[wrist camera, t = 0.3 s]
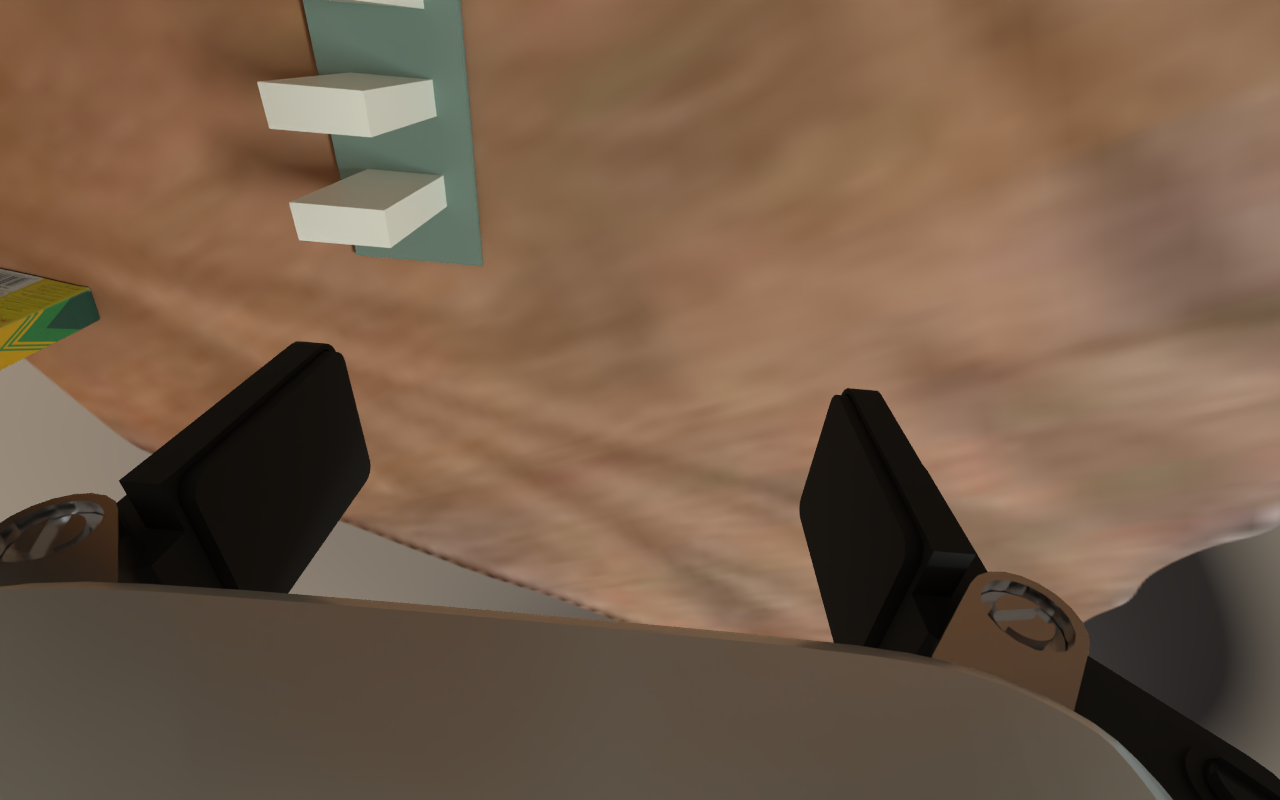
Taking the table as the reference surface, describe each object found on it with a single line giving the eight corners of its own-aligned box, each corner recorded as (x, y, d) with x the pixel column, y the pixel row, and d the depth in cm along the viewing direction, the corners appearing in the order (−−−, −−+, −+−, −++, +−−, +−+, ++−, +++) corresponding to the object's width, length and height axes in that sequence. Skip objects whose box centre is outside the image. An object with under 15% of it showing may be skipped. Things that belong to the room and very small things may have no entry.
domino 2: (367, 168, 37) (288, 202, 29) (443, 175, 37) (383, 210, 29) (373, 200, 38) (299, 240, 30) (446, 206, 38) (390, 247, 30)
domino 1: (350, 72, 34) (256, 81, 26) (432, 79, 34) (362, 90, 26) (357, 109, 35) (269, 128, 27) (436, 116, 35) (371, 137, 27)
